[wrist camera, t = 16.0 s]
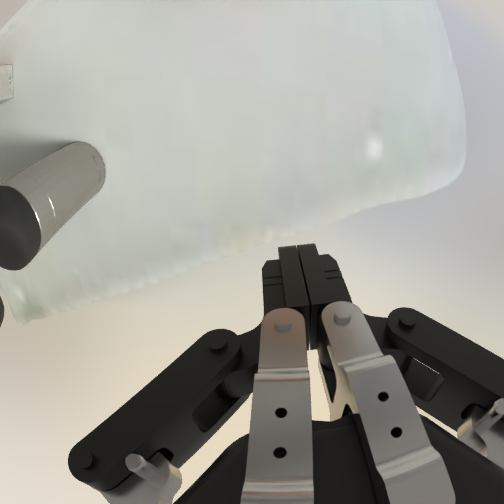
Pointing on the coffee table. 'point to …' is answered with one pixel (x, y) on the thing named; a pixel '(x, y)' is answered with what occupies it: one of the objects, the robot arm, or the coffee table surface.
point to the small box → (6, 83)
